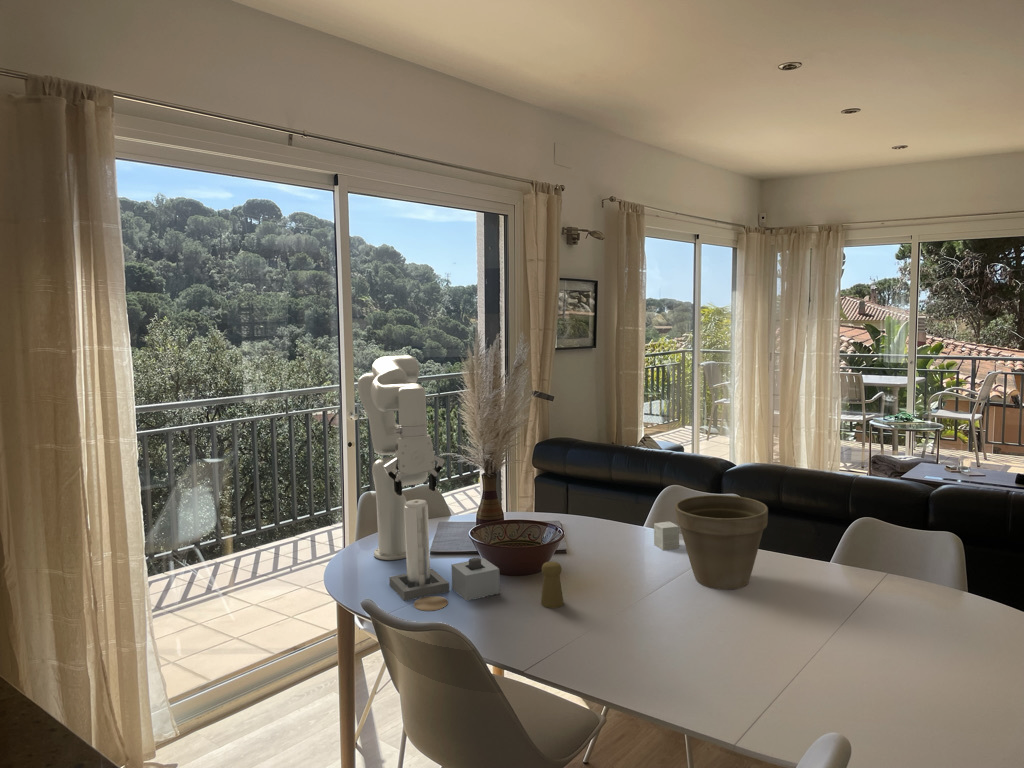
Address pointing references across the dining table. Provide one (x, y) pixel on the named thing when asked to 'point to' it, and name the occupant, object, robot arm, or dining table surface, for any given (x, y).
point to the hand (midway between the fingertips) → (415, 492)
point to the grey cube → (666, 535)
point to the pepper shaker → (551, 585)
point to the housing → (475, 580)
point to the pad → (430, 603)
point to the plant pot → (721, 537)
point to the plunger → (474, 563)
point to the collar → (406, 593)
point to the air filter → (417, 543)
